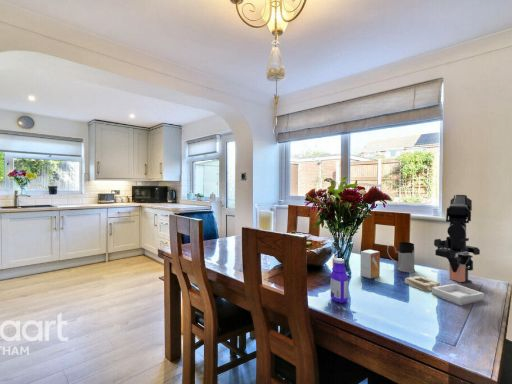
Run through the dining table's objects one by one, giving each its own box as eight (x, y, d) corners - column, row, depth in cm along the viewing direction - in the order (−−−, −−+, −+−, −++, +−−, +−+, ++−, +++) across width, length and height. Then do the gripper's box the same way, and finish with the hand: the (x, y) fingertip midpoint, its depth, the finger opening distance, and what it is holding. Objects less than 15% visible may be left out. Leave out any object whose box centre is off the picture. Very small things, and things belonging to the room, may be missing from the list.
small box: (370, 278, 141) (370, 253, 140) (360, 275, 146) (360, 251, 146) (380, 276, 145) (380, 251, 145) (369, 272, 150) (369, 249, 150)
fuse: (454, 277, 119) (454, 261, 119) (465, 281, 115) (465, 264, 115) (449, 278, 118) (449, 262, 118) (460, 282, 114) (460, 265, 114)
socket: (419, 280, 137) (419, 275, 137) (440, 288, 127) (440, 283, 127) (405, 283, 134) (405, 278, 134) (425, 291, 124) (425, 285, 124)
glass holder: (416, 273, 149) (417, 245, 149) (388, 270, 154) (388, 243, 154) (413, 268, 158) (413, 242, 157) (386, 266, 162) (386, 240, 162)
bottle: (350, 302, 113) (350, 260, 112) (340, 305, 110) (340, 262, 110) (338, 296, 119) (338, 256, 119) (327, 298, 117) (327, 257, 116)
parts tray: (454, 290, 125) (454, 283, 125) (484, 300, 113) (484, 293, 113) (431, 294, 120) (431, 287, 120) (459, 305, 109) (459, 297, 109)
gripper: (454, 230, 127) (454, 264, 127) (424, 233, 121) (423, 268, 121) (480, 234, 116) (480, 271, 117) (448, 238, 110) (448, 276, 111)
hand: (457, 271), depth 117 cm, fingers closed on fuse, 3 cm apart
